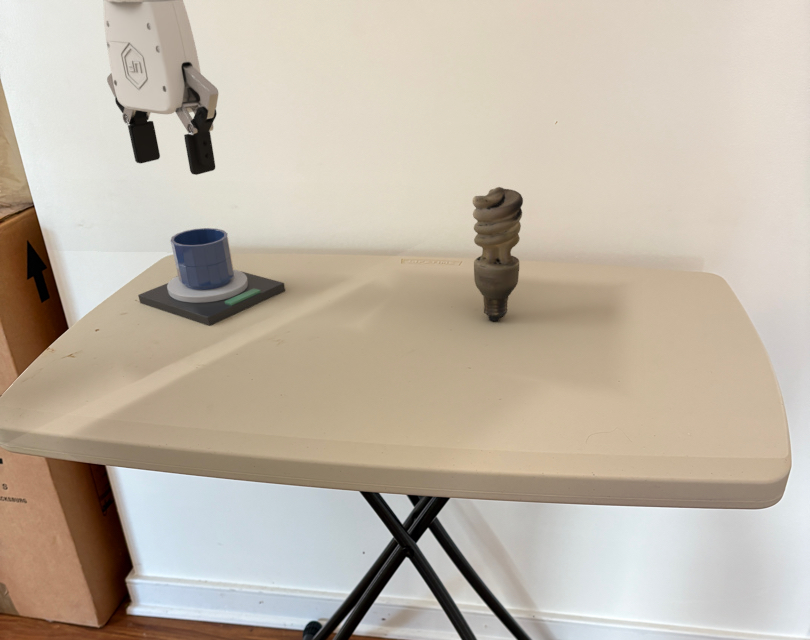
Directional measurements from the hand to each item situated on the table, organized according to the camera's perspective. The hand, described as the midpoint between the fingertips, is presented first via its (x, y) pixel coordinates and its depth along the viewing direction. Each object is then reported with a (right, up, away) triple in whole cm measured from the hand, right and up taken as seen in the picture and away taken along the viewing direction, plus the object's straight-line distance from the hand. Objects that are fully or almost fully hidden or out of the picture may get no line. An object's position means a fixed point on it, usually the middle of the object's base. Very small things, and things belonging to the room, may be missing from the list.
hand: (175, 166), depth 87 cm
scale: (+2, -13, +10) cm, 17 cm away
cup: (+2, -10, +9) cm, 14 cm away
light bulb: (+37, -16, +5) cm, 41 cm away
